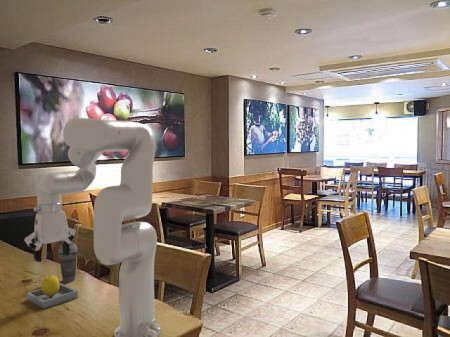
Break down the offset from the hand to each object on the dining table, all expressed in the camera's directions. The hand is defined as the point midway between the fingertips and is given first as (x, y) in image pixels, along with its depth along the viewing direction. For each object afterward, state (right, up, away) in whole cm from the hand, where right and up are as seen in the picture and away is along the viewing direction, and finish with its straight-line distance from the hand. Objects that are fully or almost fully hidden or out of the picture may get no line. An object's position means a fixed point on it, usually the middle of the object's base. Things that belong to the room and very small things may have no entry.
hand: (52, 258), depth 130 cm
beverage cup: (-2, -14, +20) cm, 24 cm away
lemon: (-1, -14, +1) cm, 14 cm away
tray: (-1, -15, +1) cm, 15 cm away
